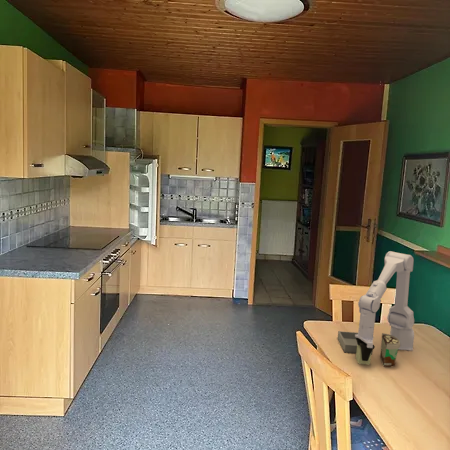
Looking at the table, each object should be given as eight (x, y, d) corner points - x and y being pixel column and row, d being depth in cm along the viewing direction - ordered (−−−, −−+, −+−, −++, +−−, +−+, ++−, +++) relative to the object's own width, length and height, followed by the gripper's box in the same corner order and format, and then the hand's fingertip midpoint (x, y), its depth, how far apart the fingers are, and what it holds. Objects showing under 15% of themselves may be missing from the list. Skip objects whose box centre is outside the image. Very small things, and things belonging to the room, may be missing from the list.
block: (366, 359, 175) (368, 345, 175) (369, 364, 171) (371, 350, 170) (355, 358, 176) (357, 344, 175) (358, 363, 171) (360, 349, 170)
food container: (400, 370, 167) (403, 346, 166) (384, 368, 168) (386, 344, 167) (394, 357, 179) (397, 334, 178) (379, 355, 180) (382, 332, 179)
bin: (362, 340, 196) (363, 333, 195) (372, 354, 180) (373, 347, 180) (337, 338, 196) (338, 331, 196) (344, 352, 181) (345, 344, 180)
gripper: (352, 318, 179) (349, 349, 181) (361, 331, 164) (357, 365, 166) (369, 319, 178) (366, 350, 180) (379, 332, 164) (376, 366, 166)
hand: (363, 357), depth 173 cm, fingers closed on block, 4 cm apart
